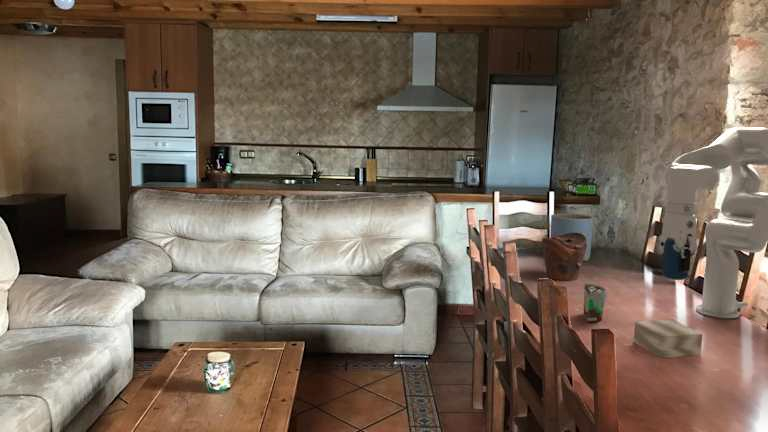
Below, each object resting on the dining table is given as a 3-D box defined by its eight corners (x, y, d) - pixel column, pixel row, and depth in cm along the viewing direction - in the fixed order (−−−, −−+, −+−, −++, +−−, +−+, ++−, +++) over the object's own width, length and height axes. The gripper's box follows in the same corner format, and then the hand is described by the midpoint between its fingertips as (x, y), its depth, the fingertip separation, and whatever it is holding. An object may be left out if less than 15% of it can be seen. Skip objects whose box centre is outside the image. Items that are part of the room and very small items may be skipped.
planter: (596, 262, 270) (599, 219, 268) (555, 262, 271) (557, 219, 268) (583, 254, 289) (586, 213, 286) (544, 253, 290) (546, 213, 287)
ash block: (671, 339, 171) (673, 319, 170) (700, 355, 159) (702, 334, 158) (633, 341, 169) (635, 321, 168) (660, 357, 157) (661, 336, 156)
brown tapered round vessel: (535, 279, 237) (538, 235, 235) (542, 269, 256) (545, 228, 253) (582, 285, 231) (586, 240, 228) (585, 274, 249) (589, 232, 247)
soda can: (686, 281, 173) (689, 241, 171) (660, 278, 176) (663, 239, 174) (688, 276, 178) (691, 237, 176) (663, 273, 182) (666, 235, 180)
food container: (608, 325, 182) (610, 294, 181) (587, 324, 184) (589, 293, 182) (602, 313, 194) (604, 284, 193) (582, 312, 196) (584, 283, 194)
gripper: (712, 212, 166) (707, 274, 169) (672, 204, 183) (668, 260, 186) (688, 213, 165) (683, 275, 168) (650, 205, 182) (646, 261, 185)
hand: (675, 267), depth 177 cm, fingers closed on soda can, 6 cm apart
